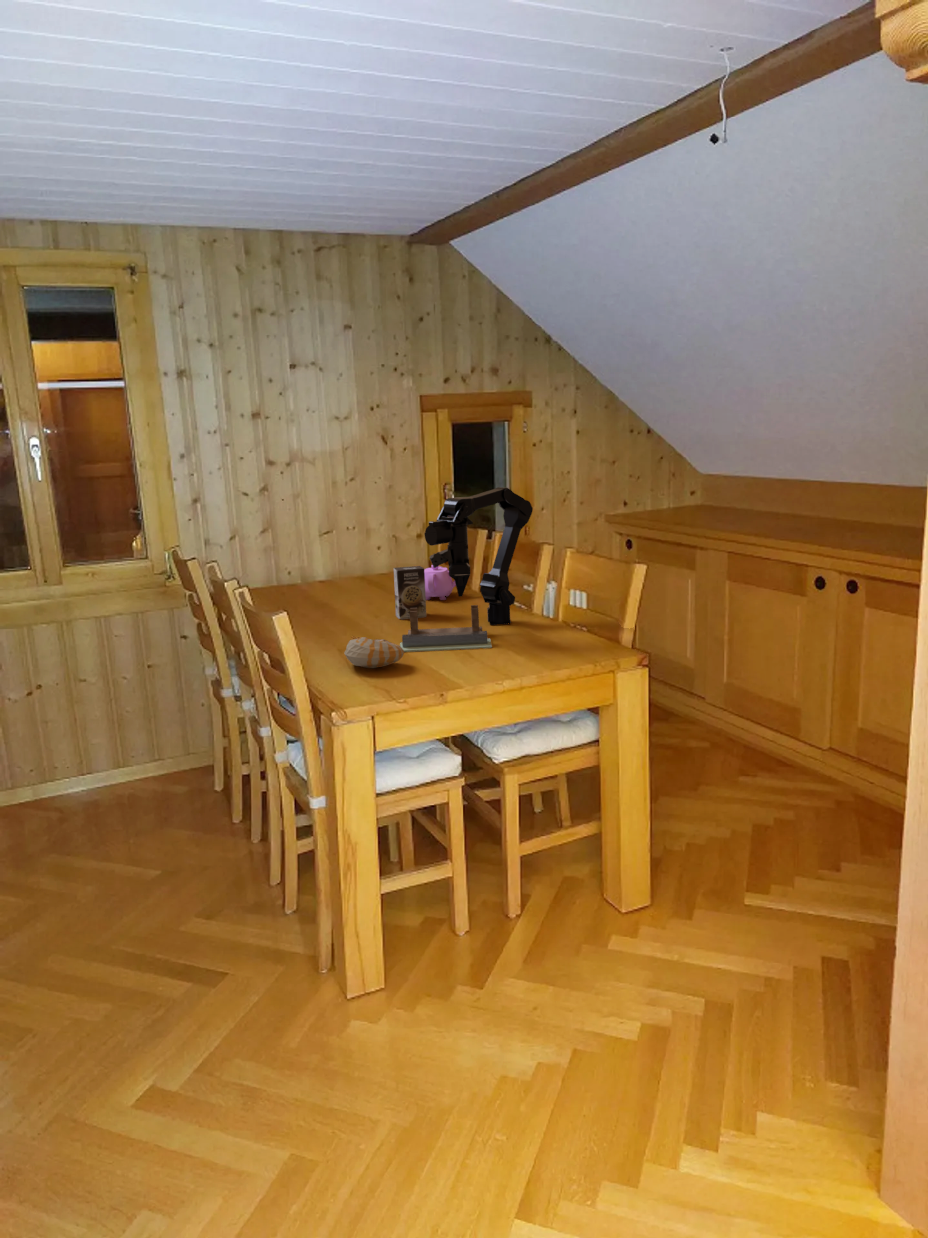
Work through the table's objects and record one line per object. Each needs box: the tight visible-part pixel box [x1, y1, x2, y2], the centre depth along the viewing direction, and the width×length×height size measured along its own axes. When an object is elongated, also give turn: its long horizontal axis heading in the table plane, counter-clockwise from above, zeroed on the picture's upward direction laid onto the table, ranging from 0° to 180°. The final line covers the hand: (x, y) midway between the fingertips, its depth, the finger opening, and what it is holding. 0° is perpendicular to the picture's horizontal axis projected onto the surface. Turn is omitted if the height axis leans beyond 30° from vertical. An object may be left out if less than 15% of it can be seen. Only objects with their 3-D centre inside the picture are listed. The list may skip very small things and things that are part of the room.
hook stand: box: [407, 604, 483, 634], centre depth 275 cm, size 22×8×8 cm, turn 91°
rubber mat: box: [399, 637, 493, 653], centre depth 266 cm, size 26×9×1 cm, turn 91°
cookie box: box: [393, 565, 427, 620], centre depth 302 cm, size 9×6×16 cm
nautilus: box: [343, 635, 405, 669], centre depth 250 cm, size 8×22×15 cm
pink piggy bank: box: [424, 564, 456, 601], centre depth 330 cm, size 18×17×12 cm
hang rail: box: [401, 630, 488, 648], centre depth 265 cm, size 24×3×3 cm, turn 91°
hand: (460, 593), depth 278 cm, fingers open, 9 cm apart
